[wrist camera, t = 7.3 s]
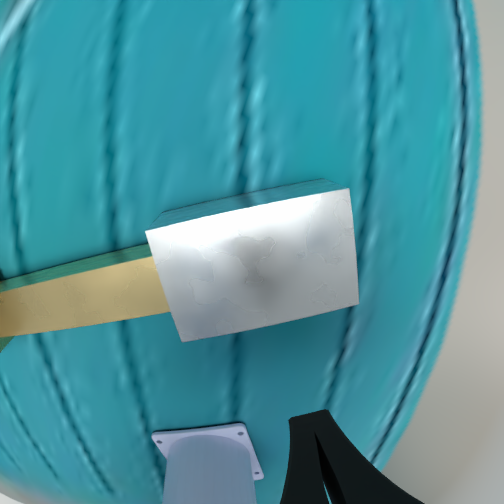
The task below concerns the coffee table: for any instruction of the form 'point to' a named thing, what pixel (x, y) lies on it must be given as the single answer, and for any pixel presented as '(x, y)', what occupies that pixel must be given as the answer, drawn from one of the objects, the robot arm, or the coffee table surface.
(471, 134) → the coffee table surface
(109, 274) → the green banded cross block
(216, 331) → the sleeve
